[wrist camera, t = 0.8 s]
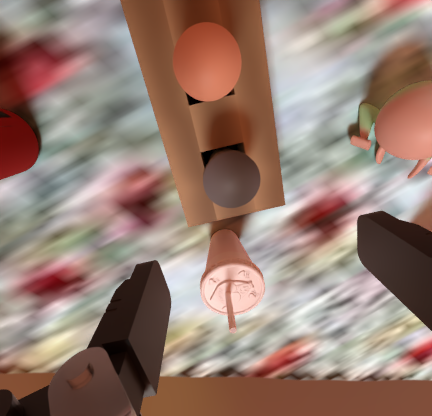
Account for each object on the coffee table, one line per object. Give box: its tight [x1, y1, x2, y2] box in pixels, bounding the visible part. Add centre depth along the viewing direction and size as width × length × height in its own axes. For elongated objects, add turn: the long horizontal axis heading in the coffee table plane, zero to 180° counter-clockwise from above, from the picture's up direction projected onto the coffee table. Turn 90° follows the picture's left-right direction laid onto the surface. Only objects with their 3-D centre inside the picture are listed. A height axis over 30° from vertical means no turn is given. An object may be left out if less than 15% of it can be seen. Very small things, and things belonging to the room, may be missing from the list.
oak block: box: [120, 0, 285, 227], centre depth 23 cm, size 10×26×6 cm, turn 13°
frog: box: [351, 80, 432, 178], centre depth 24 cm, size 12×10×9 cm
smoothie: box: [200, 229, 265, 333], centre depth 26 cm, size 6×6×14 cm
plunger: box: [203, 147, 261, 208], centre depth 22 cm, size 4×4×7 cm
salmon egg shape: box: [173, 22, 242, 102], centre depth 19 cm, size 4×4×7 cm
